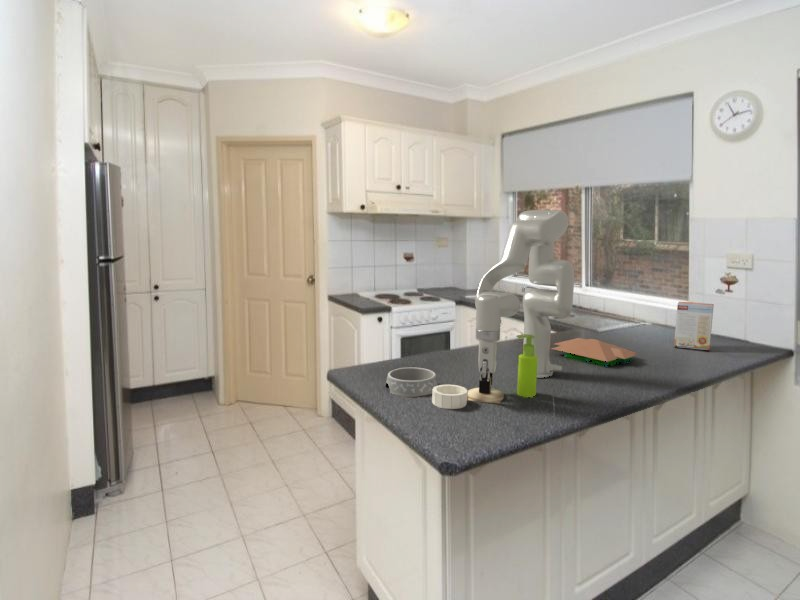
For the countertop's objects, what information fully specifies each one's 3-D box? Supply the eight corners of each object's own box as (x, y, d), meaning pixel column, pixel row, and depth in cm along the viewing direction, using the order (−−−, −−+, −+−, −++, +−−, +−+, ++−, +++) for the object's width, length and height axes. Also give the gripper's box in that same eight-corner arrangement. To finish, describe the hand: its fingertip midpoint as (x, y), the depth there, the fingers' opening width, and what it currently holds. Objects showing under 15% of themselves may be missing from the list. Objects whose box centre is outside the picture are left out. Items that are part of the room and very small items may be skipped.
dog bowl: (394, 400, 161) (394, 383, 161) (380, 382, 179) (380, 367, 178) (445, 395, 166) (445, 379, 165) (426, 379, 184) (426, 364, 183)
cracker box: (709, 349, 232) (714, 303, 229) (709, 352, 227) (714, 305, 224) (674, 345, 239) (678, 300, 236) (673, 347, 234) (677, 302, 231)
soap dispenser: (511, 392, 169) (514, 333, 166) (532, 392, 169) (535, 332, 166) (517, 398, 163) (519, 337, 160) (538, 398, 164) (541, 336, 161)
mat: (502, 394, 167) (502, 393, 167) (500, 404, 158) (500, 403, 157) (471, 391, 170) (471, 390, 170) (467, 401, 160) (467, 400, 160)
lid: (504, 392, 167) (505, 374, 167) (502, 404, 157) (502, 384, 156) (470, 389, 170) (470, 371, 169) (465, 400, 160) (466, 381, 159)
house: (613, 371, 197) (615, 350, 195) (541, 353, 222) (542, 335, 221) (643, 362, 211) (644, 342, 209) (572, 346, 236) (573, 329, 235)
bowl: (468, 400, 161) (469, 386, 161) (463, 411, 151) (464, 396, 151) (436, 396, 164) (436, 383, 163) (429, 408, 154) (429, 393, 153)
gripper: (497, 341, 151) (495, 398, 154) (501, 330, 168) (499, 381, 170) (472, 339, 153) (470, 396, 156) (478, 328, 170) (477, 379, 172)
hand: (485, 388), depth 163 cm, fingers open, 8 cm apart
